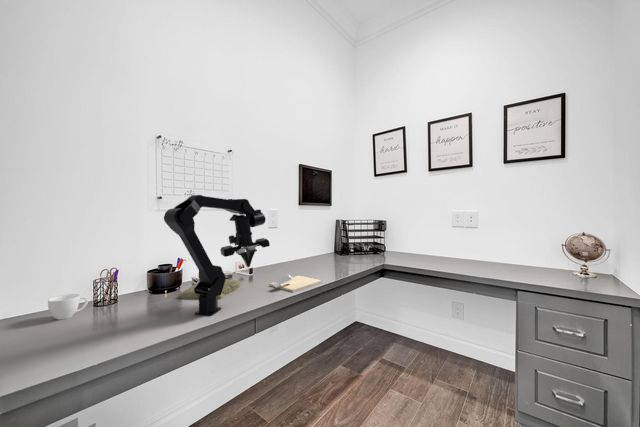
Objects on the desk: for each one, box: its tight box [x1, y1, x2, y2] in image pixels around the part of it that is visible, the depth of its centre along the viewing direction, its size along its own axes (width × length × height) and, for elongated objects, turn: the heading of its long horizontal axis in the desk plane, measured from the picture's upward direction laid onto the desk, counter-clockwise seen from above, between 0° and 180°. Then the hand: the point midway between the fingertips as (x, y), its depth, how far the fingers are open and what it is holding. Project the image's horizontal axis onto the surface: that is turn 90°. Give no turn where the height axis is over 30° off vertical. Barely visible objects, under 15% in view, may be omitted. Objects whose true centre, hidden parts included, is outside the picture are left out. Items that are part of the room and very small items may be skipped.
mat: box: [269, 275, 323, 293], centre depth 130 cm, size 20×16×1 cm
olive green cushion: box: [180, 279, 242, 300], centre depth 119 cm, size 19×20×4 cm
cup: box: [47, 293, 89, 321], centre depth 92 cm, size 8×10×7 cm
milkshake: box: [274, 273, 293, 289], centre depth 125 cm, size 4×5×10 cm
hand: (248, 267), depth 111 cm, fingers closed
